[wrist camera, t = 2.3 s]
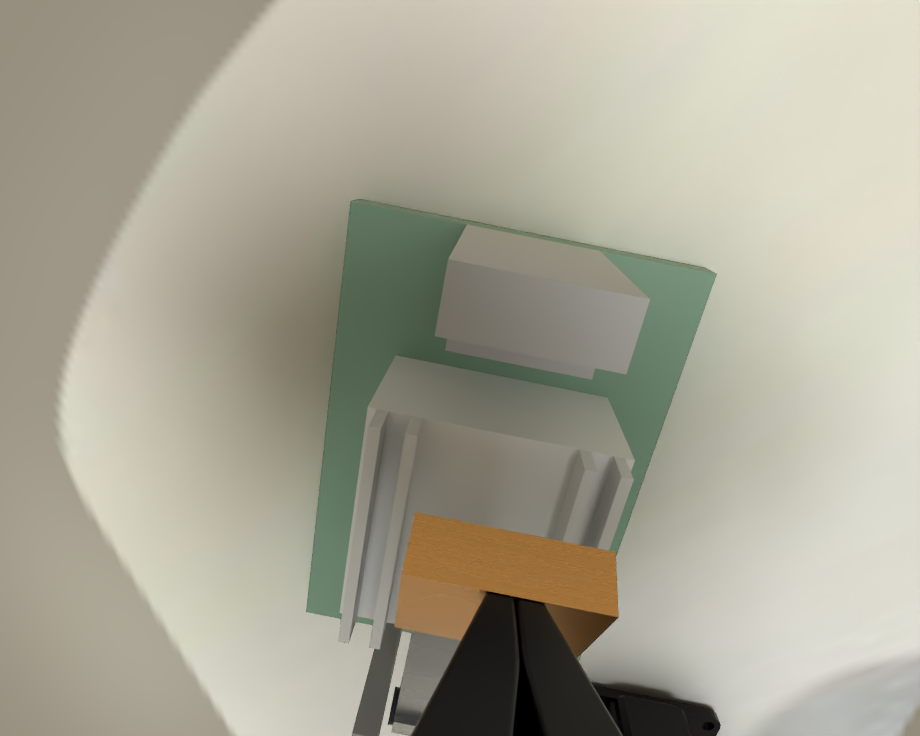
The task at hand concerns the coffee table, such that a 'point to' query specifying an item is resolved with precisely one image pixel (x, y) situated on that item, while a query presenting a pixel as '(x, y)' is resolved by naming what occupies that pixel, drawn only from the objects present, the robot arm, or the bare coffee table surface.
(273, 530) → the coffee table surface
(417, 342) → the heatsink board
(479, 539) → the orange tipped gray lever
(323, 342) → the coffee table surface
